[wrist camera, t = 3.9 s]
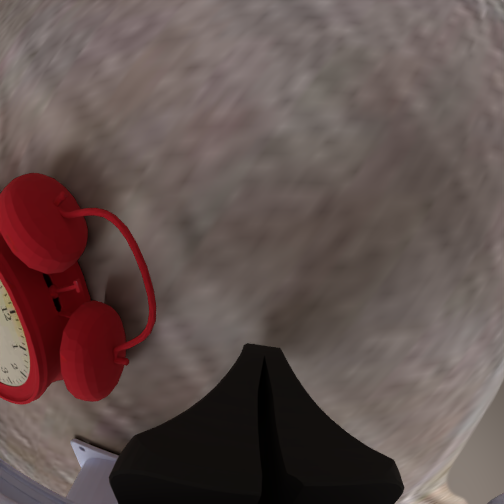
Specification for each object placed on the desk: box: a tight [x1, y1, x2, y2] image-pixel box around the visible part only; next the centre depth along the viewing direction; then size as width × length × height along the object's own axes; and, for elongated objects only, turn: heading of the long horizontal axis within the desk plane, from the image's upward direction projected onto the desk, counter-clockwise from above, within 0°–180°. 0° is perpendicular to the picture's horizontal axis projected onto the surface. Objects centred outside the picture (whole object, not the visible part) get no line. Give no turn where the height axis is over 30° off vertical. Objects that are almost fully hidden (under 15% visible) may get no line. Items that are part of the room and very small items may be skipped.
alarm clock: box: [0, 173, 156, 404], centre depth 10 cm, size 10×6×15 cm
